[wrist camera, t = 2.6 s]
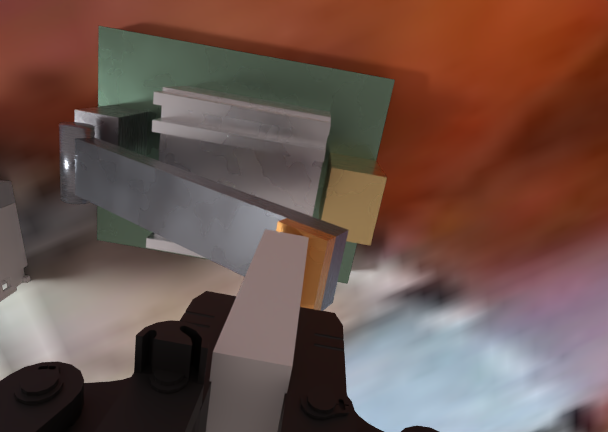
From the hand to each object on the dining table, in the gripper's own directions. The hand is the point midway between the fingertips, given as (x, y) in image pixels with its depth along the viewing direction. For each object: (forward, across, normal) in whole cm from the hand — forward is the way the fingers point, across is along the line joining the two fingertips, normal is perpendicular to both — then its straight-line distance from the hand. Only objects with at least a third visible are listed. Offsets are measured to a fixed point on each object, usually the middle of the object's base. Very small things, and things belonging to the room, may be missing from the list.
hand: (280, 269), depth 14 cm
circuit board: (+16, -5, 0) cm, 16 cm away
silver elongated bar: (+5, -5, 0) cm, 7 cm away
